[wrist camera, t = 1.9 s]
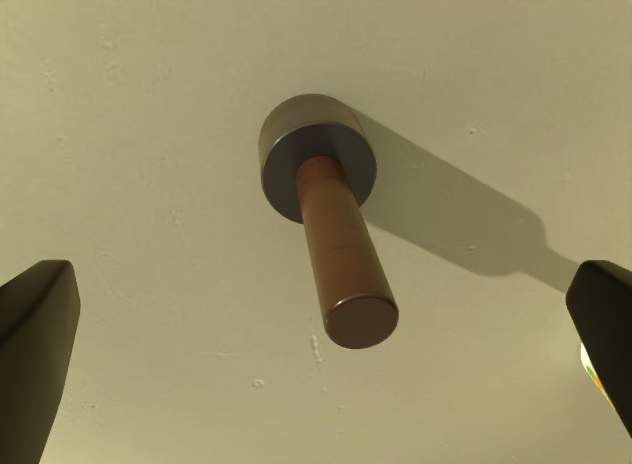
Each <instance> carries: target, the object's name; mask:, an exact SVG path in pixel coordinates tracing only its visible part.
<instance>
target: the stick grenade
mask: <svg viewBox="0 0 632 464" xmlns="http://www.w3.org/2000/svg"><path fill="white" fill-rule="evenodd" d="M259 159H260V172H261V183H262V188H263V191H264V194H265V196H266V198H267V200H268V201H269V203H270V204H271V206H272V207H273V208H274V209H275V210H276V211H277V212H278V213H280V214H281V215H282V216H284V217H286V218H287V219H289V220H291V221H294V222H296V223H300V224H304V228H305V233H306V238H307V243H308V248H309V253H310V258H311V263H312V268H313V273H314V278H315V283H316V288H317V293H318V298H319V303H320V308H321V313H322V318H323V323H324V328H325V331H326V333H327V335H328V336H329V338H330V339H331V340H332V341H333V342H335V343H336V344H338V345H340V346H342V347H345V348H349V349H363V348H368V347H372V346H374V345H377V344H379V343H381V342H382V341H384V340H385V339H387V338H388V337H389V336H390V335H391V334H392V333H393V331H394V330H395V328H396V326H397V323H398V319H399V310H398V307H397V304H396V302H395V299H394V296H393V294H392V291H391V289H390V286H389V284H388V281H387V279H386V276H385V273H384V271H383V268H382V266H381V263H380V261H379V258H378V256H377V253H376V250H375V248H374V245H373V243H372V240H371V238H370V235H369V232H368V230H367V227H366V225H365V222H364V220H363V217H362V215H361V212H360V209H359V208H360V207H361V206H362V205H363V204H364V202H365V201H366V200H367V198H368V197H369V195H370V193H371V191H372V189H373V186H374V183H375V179H376V173H377V165H376V159H375V155H374V152H373V150H372V148H371V146H370V144H369V142H368V140H367V138H366V137H365V135H364V133H363V131H362V129H361V127H360V125H359V124H358V122H357V120H356V118H355V116H354V115H353V113H352V112H351V111H350V110H349V109H348V108H347V107H346V106H345V105H344V104H342V103H341V102H339V101H338V100H336V99H334V98H331V97H329V96H325V95H320V94H305V95H300V96H296V97H293V98H291V99H288V100H286V101H285V102H283V103H281V104H280V105H279V106H277V107H276V108H275V109H274V110H273V111H272V112H271V113H270V114H269V116H268V117H267V118H266V120H265V122H264V124H263V126H262V128H261V131H260V135H259Z"/></svg>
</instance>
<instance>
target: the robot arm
mask: <svg viewBox="0 0 632 464" xmlns="http://www.w3.org/2000/svg"><path fill="white" fill-rule="evenodd" d="M566 306H567V309H568V311H569V313H570V316H571V318H572V320H573V322H574V325H575V327H576V329H577V332H578V334H579V336H580V338H581V341H582V343H583V345H584V348H585V350H586V352H587V355H588V357H589V359H590V361H591V364H592V366H593V368H594V370H595V372H596V375H597V377H598V379H599V381H600V382H601V384H602V386H603V388H604V390H605V392H606V394H607V395H608V397H609V399H610V401H611V403H612V404H613V406H614V408H615V410H616V412H617V413H618V415H619V417H620V419H621V420H622V422H623V424H624V426H625V428H626V429H627V431H628V433H629V435H630V437H631V438H632V272H631V271H629V270H627V269H625V268H623V267H621V266H618V265H616V264H614V263H612V262H610V261H606V260H587V261H584V262H583V263H582V264H581V265H580V266H579V268H578V270H577V272H576V274H575V276H574V279H573V281H572V283H571V285H570V287H569V289H568V291H567V294H566ZM79 316H80V297H79V292H78V287H77V282H76V277H75V273H74V268H73V266H72V264H71V262H69V261H68V260H42V261H40V262H38V263H36V264H35V265H33V266H32V267H30V268H29V269H27V270H26V271H24V272H23V273H21V274H19V275H18V276H16V277H15V278H13V279H12V280H10V281H9V282H7V283H6V284H4V285H3V286H1V287H0V464H39V462H40V459H41V456H42V453H43V451H44V448H45V445H46V442H47V439H48V436H49V433H50V431H51V428H52V425H53V422H54V419H55V416H56V413H57V410H58V407H59V404H60V401H61V397H62V393H63V389H64V385H65V380H66V376H67V371H68V367H69V362H70V357H71V353H72V348H73V343H74V339H75V334H76V329H77V325H78V320H79Z"/></svg>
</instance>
